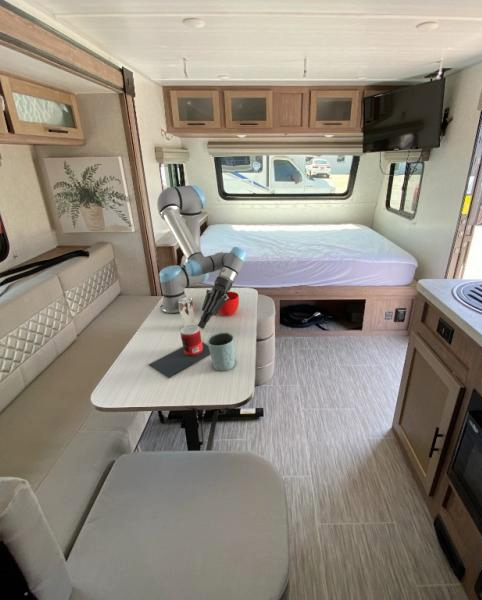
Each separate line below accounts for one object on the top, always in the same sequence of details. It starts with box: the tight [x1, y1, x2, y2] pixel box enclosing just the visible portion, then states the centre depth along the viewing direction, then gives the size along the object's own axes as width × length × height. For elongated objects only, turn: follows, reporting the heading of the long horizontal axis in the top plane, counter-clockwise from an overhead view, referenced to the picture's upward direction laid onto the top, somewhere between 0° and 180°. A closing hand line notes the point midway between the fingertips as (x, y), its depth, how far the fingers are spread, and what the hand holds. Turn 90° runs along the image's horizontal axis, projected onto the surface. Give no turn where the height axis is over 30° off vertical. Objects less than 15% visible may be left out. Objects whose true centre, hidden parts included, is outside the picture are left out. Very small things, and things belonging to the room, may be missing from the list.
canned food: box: [179, 324, 203, 356], centre depth 136 cm, size 8×8×11 cm
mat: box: [148, 342, 211, 379], centre depth 135 cm, size 24×14×1 cm, turn 140°
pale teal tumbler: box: [206, 332, 236, 372], centre depth 126 cm, size 10×10×12 cm
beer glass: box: [178, 297, 196, 328], centre depth 156 cm, size 7×7×15 cm
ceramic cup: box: [218, 291, 240, 317], centre depth 171 cm, size 13×17×10 cm
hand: (200, 327), depth 138 cm, fingers closed
